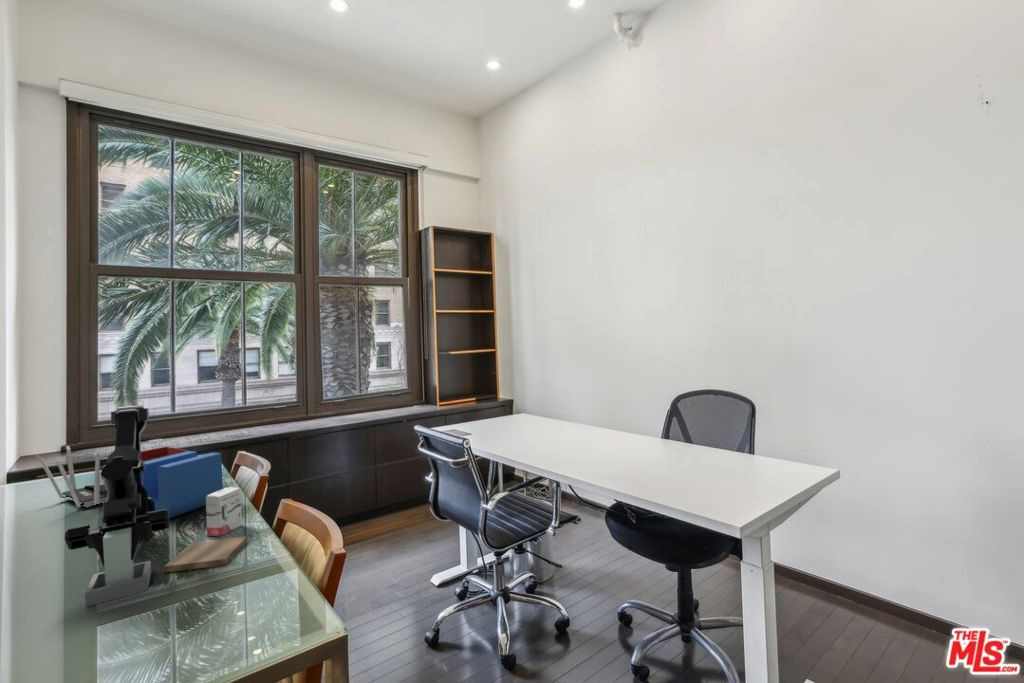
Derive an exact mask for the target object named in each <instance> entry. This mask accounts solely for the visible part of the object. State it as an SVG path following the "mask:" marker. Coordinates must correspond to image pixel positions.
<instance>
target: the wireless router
mask: <svg viewBox="0 0 1024 683" xmlns="http://www.w3.org/2000/svg"><path fill="white" fill-rule="evenodd" d="M65 449H66V457H67V466H68V467H67V468H68V474H67V472H66V470H65V468H64V465H63V463H61V462H60V461H57V460H55V463H56V464H57V467H58V469H59V471H60V474H61V475H62V478H63V480H64V481H65V484H66V486H67V488H68V491H63V492H62V490H61V489H60V487H59V485H58V483H57V482H56V479H55V478H54V476H53V474H52V473H51V470H50V469H49V467H48V465H47V463H46V462H45V459H44V458H43V457H42V456H40V455H38V454H37V455H36V456H37V458H38V461H39V462H40V464H41V466H42V467H43V470H44V471H45V473H46V475H47V477H48V478H49V480H50V482H51V484H52V486H53V488H54V489H55V491H56V493H57V495H58V497H59V499H60V498H65V497H70V498H72V499H74V501H75V502H74V503H75V506H76V508H78V507H79V508H82V507H83V506H82V505H86V506H89V505H93V504H99V503H101V502H105V501H107V494H108V491H107V490H106V488H105V485H104V484H101V455H100V453H96V455H95V462H94V463H95V466H94V468H95V469H94V470H95V471H94V484H92V485H84V487H81V488H77V484H76V479H75V471H74V464H73V456H72V451H71V450H72V449H71V447H70V446H69V445H66V448H65ZM68 475H69V476H68ZM65 499H66V498H65ZM80 503H81V504H80ZM99 505H100V504H99Z"/></svg>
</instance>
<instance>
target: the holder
mask: <svg viewBox="0 0 1024 683" xmlns="http://www.w3.org/2000/svg"><path fill="white" fill-rule="evenodd" d="M151 575H152V564H151V560H147V561H146V560H145V561H143V562H138V563H134V579H132V580H128V581H124V582H120V583H116V584H112V585H108V586H106V584H105V571H102V572H97V573H94V574H92V577H91V579H90V581H89V584H88V586H87V588H86V590H85V593H84V600H85V602H84V604H85V608H88V607H90V606H91V605H92V606H94V605H99V604H102V602H103V603H105V602H106V603H107V602H109V601H112V600H113V601H114V600H117V599H121V598H124V597H128V596H131V595H134V594H140V593H142V592H146V591H148V590H149V586H150V580H151Z"/></svg>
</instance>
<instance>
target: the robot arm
mask: <svg viewBox="0 0 1024 683" xmlns="http://www.w3.org/2000/svg"><path fill="white" fill-rule="evenodd" d="M149 412H150V411H149V407H148V408H145V407H144V405H143V404H142V405H139V404H138V405H131V406H118V407H117V408H116V410H113V411H111V412H110V423H111V425H114V427H115V429H116V430H115V431H116V433H115V442H114V443H115V444H114V450H113V451H112V452H111V453H110V454H109V455H107V461H106V464H105V465H103V467H102V469H101V470H100V478H101V479H102V481H103V483H104V484H103V485H105V488H106V490H107V491H108V494H107V502H104V503H103V504H102V523H103V524H104V526H94V527H91V525H90V524H89V523H86V524H82V525H81V524H80V525H77V526H76V525H75V526H71V527H69V528H68V529H67V530H66V531H65V532H64V541H65V543H66V545H67V548H68V550H76V549H82V548H86V547H87V548H88V549H90V550H91V549H94V550H95V551H96V552H97V554H98V556H99V558H100V561H101V563H102V564H101V565H102V567H103V568H105V567H104V549H103V538H104V536H105V534H106V532H111V531H115V530H120V529H125V528H130V527H131V528H132V549H131V560H133V561H134V559H135V558H136V555H137V553H138V552H139V550H140V548H141V546H142V545H143V543H144V542H145V541H147V540H149V538H151V537H152V536H153V537H154V535H155V532H159V531H164V530H168V529H169V528H170V519H169V515H168V510H166V509H161V510H156V511H155V503H154V501H153V500H152V499H151V497H149V493H148V491H147V490H146V489H145V487H144V486H143V485H142V479H141V473H143V471H144V469H145V463H143V461H142V460H141V452H142V450H141V447H142V445H141V434H142V433H143V432H144V430H145V429H146V427H147V421H149V419H150V413H149ZM147 511H149V512H147Z"/></svg>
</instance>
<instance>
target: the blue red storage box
mask: <svg viewBox="0 0 1024 683" xmlns="http://www.w3.org/2000/svg"><path fill="white" fill-rule="evenodd" d="M143 463H145V469H144V471H143V473H141V479H142V485H143V486H144V487H145V489H146V490H147V491H148V493H149V497H151V499H152V500H153V501H154V503H155V511H156V510H161V509H166V510H168V515H169V520H170V519H172V518H175V517H178V516H181V515H183V514H184V515H185V514H186V513H189V512H193V511H194V510H197V509H200V508H203V507H206V497H207V495H209V494H212V493H214V492H217V491H219V490H222V489H224V487H223V486H224V484H223V482H224V481H223V467H222V466H223V464H222V454H221V452H209V453H206V454H202V455H198V452H197V451H192V450H191V451H189V450H188V451H187V452H183V453H179V454H175V455H171V456H166V457H162V458H158V459H154V460H150V461H145V462H143ZM147 512H149V511H147Z"/></svg>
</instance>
